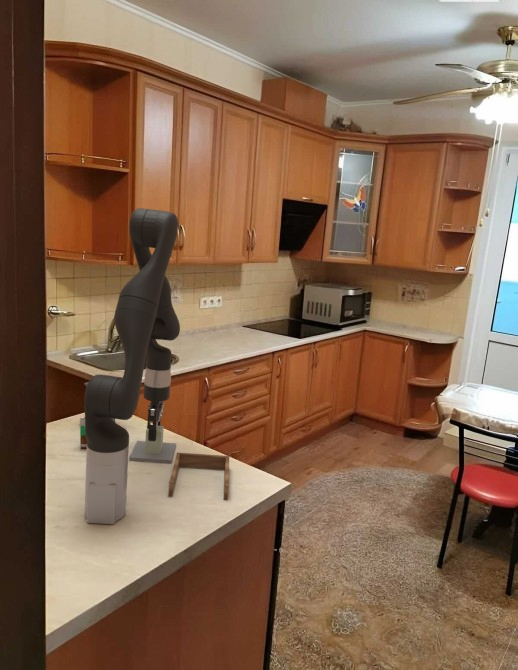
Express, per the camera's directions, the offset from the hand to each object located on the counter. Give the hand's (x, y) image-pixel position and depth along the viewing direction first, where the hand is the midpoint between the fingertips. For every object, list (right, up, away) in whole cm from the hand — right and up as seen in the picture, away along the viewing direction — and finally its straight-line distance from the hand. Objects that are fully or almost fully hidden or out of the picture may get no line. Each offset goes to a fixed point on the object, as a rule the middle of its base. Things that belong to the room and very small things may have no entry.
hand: (154, 435), depth 153 cm
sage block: (0, -5, +1) cm, 5 cm away
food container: (-19, -4, +4) cm, 19 cm away
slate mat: (-1, -6, +1) cm, 6 cm away
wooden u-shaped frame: (+15, -10, -13) cm, 23 cm away
